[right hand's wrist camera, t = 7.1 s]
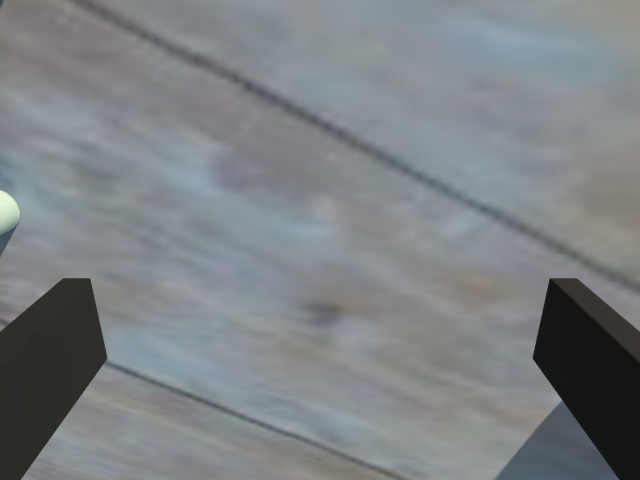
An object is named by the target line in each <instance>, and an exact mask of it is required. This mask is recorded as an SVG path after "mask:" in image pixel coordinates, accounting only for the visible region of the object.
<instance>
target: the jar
mask: <svg viewBox="0 0 640 480" xmlns="http://www.w3.org/2000/svg"><path fill="white" fill-rule="evenodd" d="M19 220H20V210H19V207H18V205H17V203H16V202H15V200H14V199H13V198H12V197H11V196H10V195H8V194H7V193H5V192H3V191H1V190H0V235H2V234H4V233H5V232H7V231H9V230H11V229H13V228H14V227H15V226H16V225H17V224H18V222H19Z"/></svg>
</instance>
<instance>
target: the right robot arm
mask: <svg viewBox="0 0 640 480" xmlns="http://www.w3.org/2000/svg"><path fill="white" fill-rule="evenodd" d="M106 360H107V354H106V349H105V345H104V340H103V335H102V331H101V326H100V322H99V317H98V312H97V308H96V303H95V299H94V294H93V289H92V285H91V280H90V278H63V279H62V280H61V281H60V282H58V283H57V284H56V285H55V286H54V287H53V288H51V289H50V290H49V291H48V292H47V293H45V294H44V295H43V296H42V297H41V298H40V299H38V300H37V301H36V302H35V303H34V304H32V305H31V306H30V307H29V308H28V309H27V310H25V311H24V312H23V313H22V314H21V315H19V316H18V317H17V318H16V319H15V320H14V321H12V322H11V323H10V324H9V325H8V326H6V327H5V328H4V329H3V330H2V331H1V332H0V480H21V478H22V477H23V476H24V474H25V473H26V471H27V470H28V469H29V467H30V466H31V464H32V463H33V462H34V460H35V459H36V457H37V456H38V455H39V453H40V452H41V451H42V449H43V448H44V446H45V445H46V444H47V442H48V441H49V439H50V438H51V437H52V435H53V434H54V432H55V431H56V430H57V428H58V427H59V425H60V424H61V423H62V421H63V420H64V418H65V417H66V416H67V414H68V413H69V411H70V410H71V409H72V407H73V406H74V404H75V403H76V402H77V400H78V399H79V397H80V396H81V395H82V393H83V392H84V390H85V389H86V388H87V386H88V385H89V383H90V382H91V381H92V379H93V378H94V376H95V375H96V374H97V372H98V371H99V369H100V368H101V367H102V365H103V364H104V362H105V361H106ZM533 360H534V361H535V362H536V364H537V365H538V367H539V368H540V369H541V371H542V372H543V374H544V375H545V376H546V378H547V379H548V381H549V382H550V383H551V385H552V386H553V388H554V389H555V390H556V392H557V393H558V395H559V396H560V397H561V399H562V400H563V402H564V403H565V404H566V406H567V407H568V409H569V410H570V411H571V413H572V414H573V416H574V417H575V418H576V420H577V421H578V423H579V424H580V425H581V427H582V428H583V430H584V431H585V432H586V434H587V435H588V437H589V438H590V439H591V441H592V442H593V444H594V445H595V446H596V448H597V449H598V451H599V452H600V453H601V455H602V456H603V458H604V459H605V460H606V462H607V463H608V464H609V466H610V467H611V469H612V470H613V471H614V473H615V474H616V476H617V477H618V478H619V480H640V332H639V331H638V330H637V329H636V328H635V327H634V326H632V325H631V324H630V323H629V322H628V321H626V320H625V319H624V318H623V317H622V316H621V315H619V314H618V313H617V312H616V311H615V310H613V309H612V308H611V307H610V306H609V305H608V304H606V303H605V302H604V301H603V300H602V299H600V298H599V297H598V296H597V295H596V294H595V293H593V292H592V291H591V290H590V289H589V288H587V287H586V286H585V285H584V284H583V283H582V282H580V281H579V280H578V279H577V278H550V280H549V285H548V289H547V294H546V299H545V303H544V308H543V312H542V317H541V322H540V326H539V331H538V335H537V340H536V345H535V349H534V354H533Z"/></svg>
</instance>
